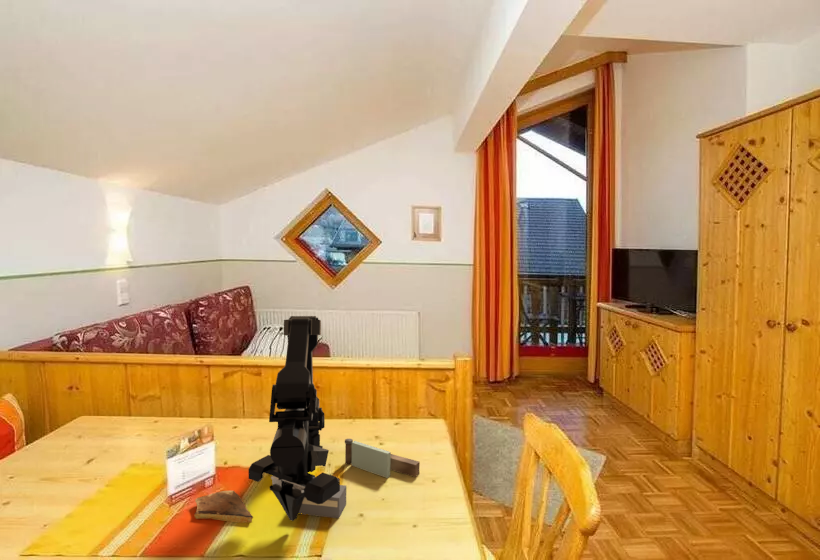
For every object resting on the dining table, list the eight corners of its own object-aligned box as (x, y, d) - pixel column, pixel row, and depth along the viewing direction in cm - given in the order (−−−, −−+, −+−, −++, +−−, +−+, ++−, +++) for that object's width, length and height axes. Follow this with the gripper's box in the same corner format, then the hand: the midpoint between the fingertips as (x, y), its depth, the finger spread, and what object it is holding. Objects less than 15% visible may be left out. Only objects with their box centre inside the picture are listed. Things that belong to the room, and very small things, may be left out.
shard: (253, 525, 93) (253, 515, 93) (203, 542, 88) (203, 531, 88) (234, 496, 104) (234, 486, 104) (189, 509, 98) (189, 499, 98)
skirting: (354, 459, 121) (354, 447, 121) (358, 456, 123) (358, 445, 123) (415, 477, 113) (415, 465, 112) (419, 473, 114) (419, 461, 114)
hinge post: (342, 463, 119) (343, 440, 118) (347, 460, 120) (347, 437, 120) (349, 465, 118) (349, 442, 117) (354, 462, 120) (354, 439, 119)
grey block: (292, 514, 97) (292, 493, 96) (301, 501, 102) (301, 481, 102) (338, 519, 95) (339, 498, 95) (346, 505, 100) (346, 485, 100)
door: (351, 465, 118) (351, 442, 117) (357, 461, 120) (357, 439, 119) (387, 478, 112) (387, 453, 111) (392, 473, 114) (393, 450, 114)
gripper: (357, 438, 93) (356, 513, 94) (286, 419, 102) (286, 487, 103) (320, 460, 83) (320, 544, 84) (246, 437, 92) (246, 513, 93)
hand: (293, 519), depth 91 cm, fingers closed
